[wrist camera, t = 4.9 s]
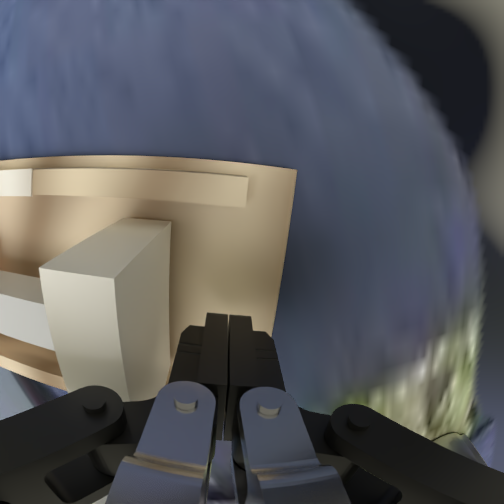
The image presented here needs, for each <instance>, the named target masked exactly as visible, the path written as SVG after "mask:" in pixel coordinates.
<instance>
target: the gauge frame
mask: <svg viewBox="0 0 504 504" xmlns="http://www.w3.org/2000/svg"><path fill="white" fill-rule="evenodd" d="M296 175H297V170H294V169H287V168H280V167H272V166H265V165H256V164H248V163H239V162H229V161H218V160H206V159H193V158H177V157H157V156H121V155H93V156H58V157H40V158H26V159H14V160H4V161H0V270H2V271H7V272H11V273H16V274H21V275H26V276H32V277H37V278H40V273H39V267H41V266H42V265H44V264H45V263H47V262H48V261H50V260H52V259H53V258H55V257H56V256H58V255H60V254H61V253H63V252H65V251H66V250H68V249H70V248H71V247H73V246H75V245H76V244H78V243H80V242H81V241H83V240H85V239H87V238H88V237H90V236H92V235H94V234H95V233H97V232H99V231H101V230H103V229H104V228H106V227H108V226H110V225H112V224H113V223H115V222H117V221H119V220H121V219H123V218H135V219H148V220H161V221H171V238H170V266H169V339H170V369H169V373H168V376H167V380H166V384H165V385H167V384H168V382H169V378H170V374H171V370H172V366H173V362H174V358H175V354H176V352H177V347H178V344H179V339H180V336H181V332H183V331H184V330H185V329H186V328H187V327H188V326H189V325H195V326H205V320H206V314H207V312H209V313H219V314H228V323H229V315H230V314H231V315H243V316H251V319H252V326H253V331H266V332H267V333H268V335H269V336H270V337H271V336H272V331H273V325H274V319H275V314H276V308H277V302H278V296H279V290H280V284H281V278H282V271H283V265H284V259H285V252H286V246H287V239H288V232H289V226H290V219H291V212H292V205H293V198H294V190H295V183H296ZM0 366H1V367H3V368H6V369H8V370H10V371H13V372H15V373H18V374H20V375H23V376H25V377H28V378H31V379H33V380H36V381H39V382H41V383H44V384H47V385H50V386H53V387H56V388H59V389H62V390H66V391H67V388H66V385H65V382H64V379H63V376H62V373H61V370H60V367H59V363H58V360H57V356H56V353H55V351H53V350H50V349H46V348H43V347H40V346H36V345H33V344H30V343H27V342H24V341H21V340H18V339H15V338H12V337H9V336H7V335H4V334H1V333H0Z"/></svg>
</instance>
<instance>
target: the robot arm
mask: <svg viewBox="0 0 504 504" xmlns="http://www.w3.org/2000/svg"><path fill="white" fill-rule="evenodd" d="M223 421H224V440H227V441H232V455H231V470H232V478H233V486H234V493H235V500H236V504H504V473H503V472H500V471H497V470H495V469H492V468H490V467H488V466H487V464H486V463H485V461H484V460H483V458H482V457H481V456H480V454H479V453H478V451H477V450H476V448H475V447H474V445H473V444H472V443H471V441H470V440H469V438H468V437H467V436H466V434H463V435H459V434H458V433H451V434H448V435H445V436H443V437H440V438H438V439H436V440H435V441H431V440H429V439H427V438H425V437H423V436H421V435H419V434H417V433H415V432H413V431H411V430H409V429H407V428H405V427H403V426H402V425H400V424H398V423H396V422H394V421H392V420H390V419H389V418H387V417H385V416H383V415H381V414H380V413H378V412H376V411H374V410H372V409H371V408H369V407H366V406H363V405H359V404H347V405H343V406H341V407H339V408H337V409H336V410H335V411H334V412H333V414H332V415H331V416H330V415H325V414H319V413H314V412H310V411H307V410H304V409H302V408H300V407H298V406H297V403H296V401H295V400H294V398H293V397H292V396H291V395H289V394H288V393H286V391H285V386H284V382H283V378H282V373H281V369H280V365H279V361H278V356H277V352H276V348H275V344H274V340H273V339H272V338H271V337H270V336H269V335H268V333H267V332H266V331H253V326H252V319H251V316H243V315H231V314H230V315H229V323H228V314H219V313H209V312H207V314H206V320H205V326H195V325H189V326H188V327H187V328H186V329H185V330H184V331H183V332H181V336H180V339H179V344H178V347H177V352H176V354H175V358H174V362H173V366H172V370H171V374H170V378H169V382H168V384H167V385H165V386H164V387H163V388H161V390H160V391H159V392H158V394H157V396H156V397H154V398H152V399H148V400H143V401H130V402H123V401H122V399H121V397H120V396H119V395H118V394H117V393H116V392H115V391H113V390H112V389H110V388H107V387H104V386H98V385H92V386H86V387H83V388H80V389H78V390H75V391H73V392H71V393H68V394H66V395H64V396H61V397H59V398H56V399H54V400H52V401H49V402H47V403H44V404H42V405H39V406H37V407H34V408H32V409H29V410H27V411H24V412H22V413H19V414H16V415H14V416H11V417H9V418H6V419H3V420H0V504H92V503H94V502H96V501H98V500H100V499H101V498H103V497H105V496H107V495H108V496H107V499H106V502H105V504H206V502H207V494H208V487H209V479H210V471H211V464H212V459H213V457H214V454H215V443H216V440H222V431H223ZM364 469H365V470H364ZM369 472H370V473H369ZM374 475H375V476H374ZM376 476H377V477H376ZM381 479H382V480H381ZM383 480H384V481H383ZM390 484H391V485H390Z"/></svg>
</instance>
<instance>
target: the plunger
mask: <svg viewBox="0 0 504 504" xmlns="http://www.w3.org/2000/svg"><path fill="white" fill-rule="evenodd" d="M170 238H171V221H161V220H148V219H135V218H123V219H121V220H119V221H117V222H115V223H113V224H112V225H110V226H108V227H106V228H104V229H103V230H101V231H99V232H97V233H95V234H94V235H92V236H90V237H88V238H87V239H85V240H83V241H81V242H80V243H78V244H76V245H75V246H73V247H71V248H70V249H68V250H66V251H65V252H63V253H61V254H60V255H58V256H56V257H55V258H53V259H52V260H50V261H48V262H47V263H45V264H44V265H42V266H41V267H39V273H40V278H37V277H32V276H26V275H21V274H16V273H11V272H7V271H2V270H0V333H1V334H4V335H7V336H9V337H12V338H15V339H18V340H21V341H24V342H27V343H30V344H33V345H36V346H40V347H43V348H46V349H50V350H53V351H55V353H56V356H57V360H58V363H59V367H60V370H61V373H62V376H63V379H64V382H65V385H66V388H67V391H68V393H71V392H73V391H75V390H78V389H80V388H83V387H86V386H92V385H98V386H104V387H107V388H110V389H112V390H113V391H115V392H116V393H117V394H118V395H119V396H120V397H121V399H122V401H123V402H130V401H143V400H148V399H152V398H154V397H156V396H157V394H158V392H159V391H160V390H161V388H163V387H164V386H165V384H166V380H167V376H168V373H169V369H170V339H169V266H170Z"/></svg>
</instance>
